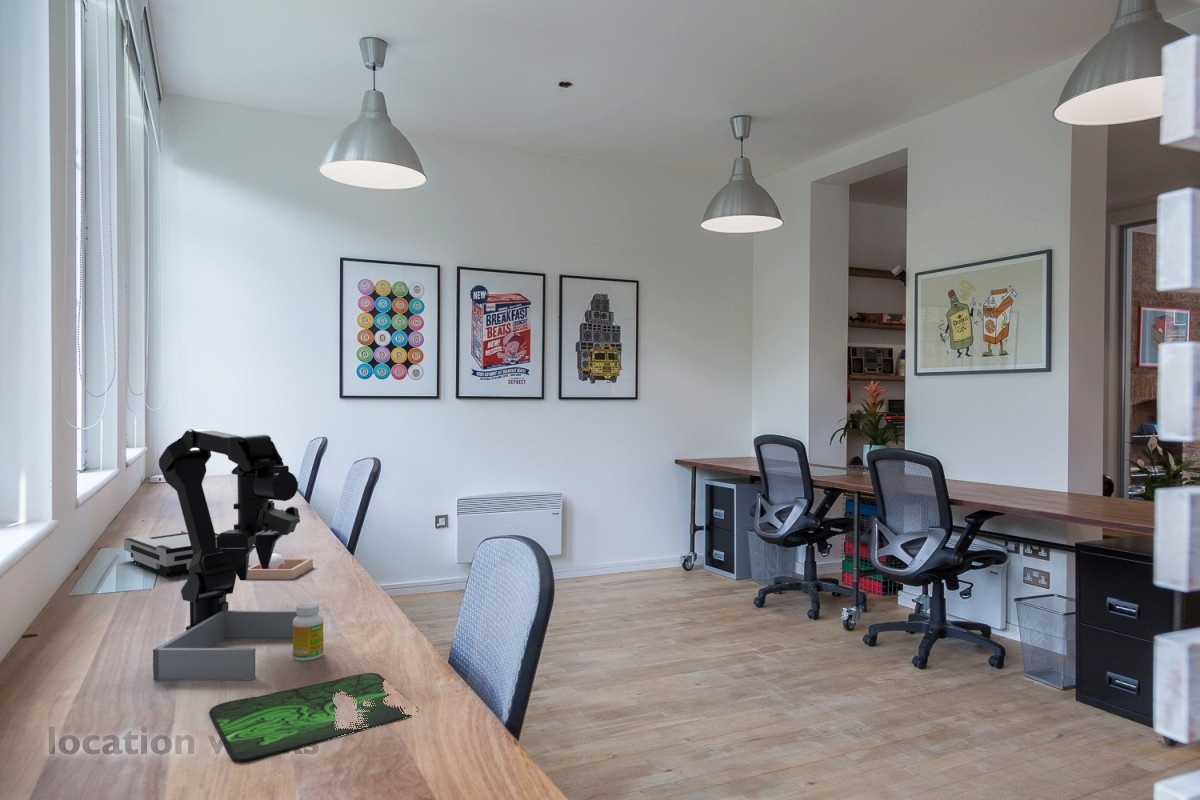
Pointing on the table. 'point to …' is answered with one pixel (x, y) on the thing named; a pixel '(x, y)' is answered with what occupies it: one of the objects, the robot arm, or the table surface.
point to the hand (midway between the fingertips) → (254, 574)
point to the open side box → (200, 662)
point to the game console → (162, 553)
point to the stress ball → (275, 562)
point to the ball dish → (281, 570)
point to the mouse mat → (298, 716)
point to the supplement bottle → (307, 632)
